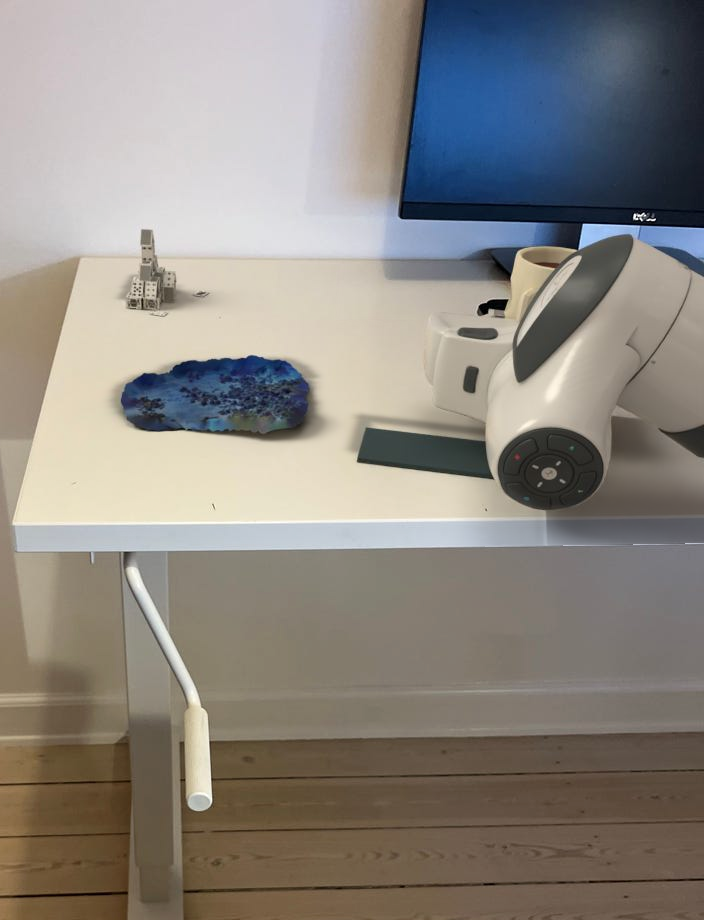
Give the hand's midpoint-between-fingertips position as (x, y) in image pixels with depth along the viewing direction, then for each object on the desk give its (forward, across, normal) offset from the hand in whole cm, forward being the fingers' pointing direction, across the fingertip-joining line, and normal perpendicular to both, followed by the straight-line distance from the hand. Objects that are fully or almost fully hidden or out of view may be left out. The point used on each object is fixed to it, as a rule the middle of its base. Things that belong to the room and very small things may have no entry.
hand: (541, 322), depth 90 cm
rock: (-10, +28, +7) cm, 31 cm away
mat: (-15, +7, +7) cm, 18 cm away
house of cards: (+15, +40, +7) cm, 43 cm away
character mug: (-1, 0, +7) cm, 7 cm away
